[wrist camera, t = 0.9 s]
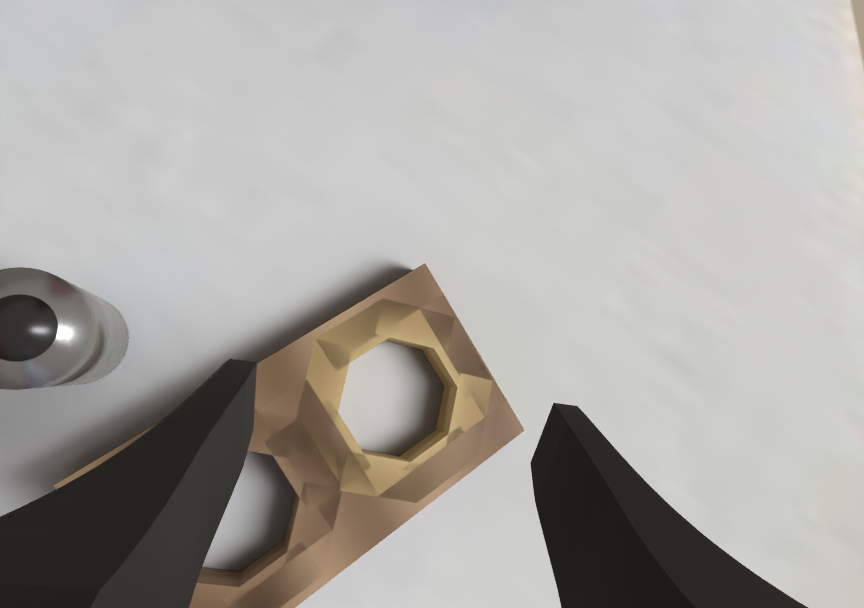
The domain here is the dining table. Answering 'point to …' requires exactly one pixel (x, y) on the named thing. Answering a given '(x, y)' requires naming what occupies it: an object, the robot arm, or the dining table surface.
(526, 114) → the dining table surface
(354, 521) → the jig plate
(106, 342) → the bushing
